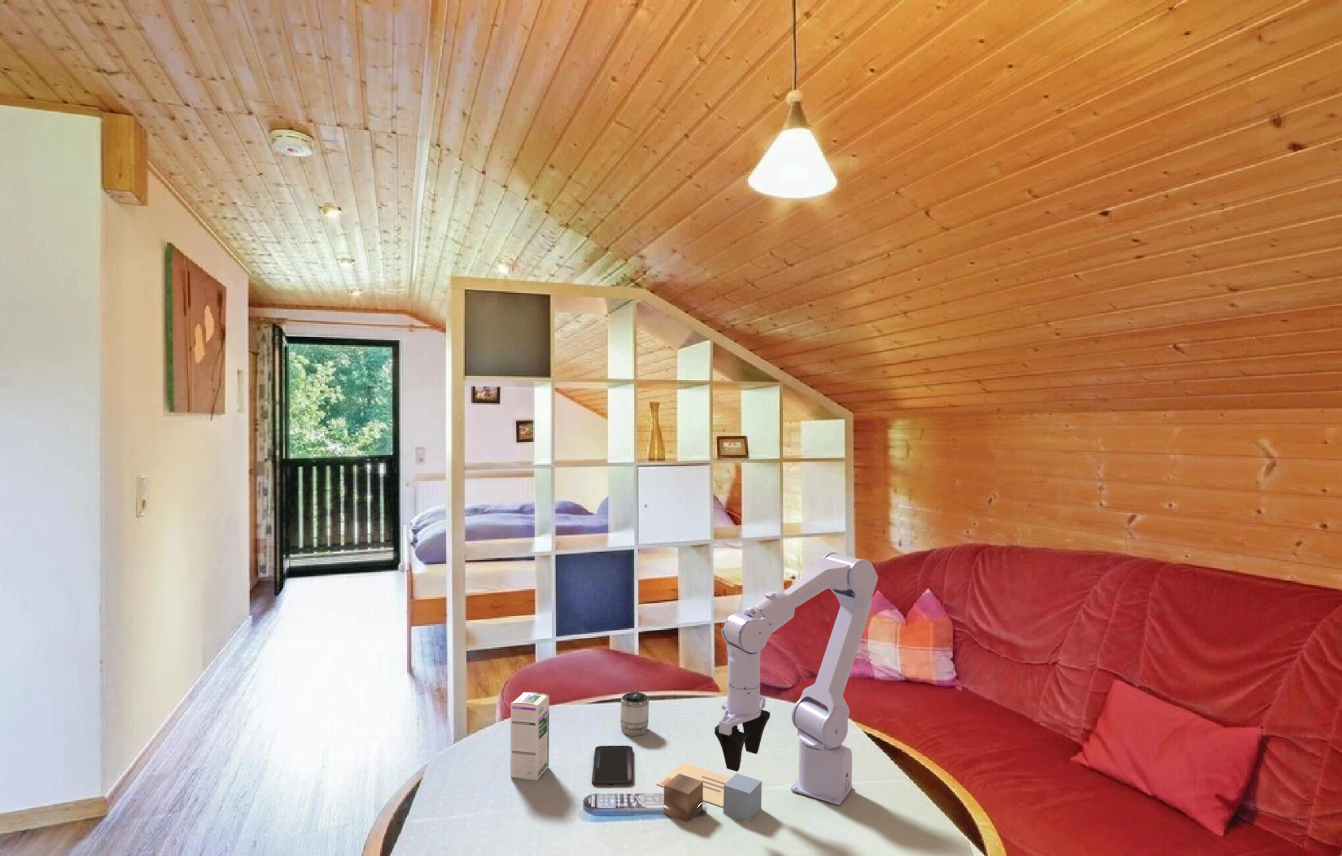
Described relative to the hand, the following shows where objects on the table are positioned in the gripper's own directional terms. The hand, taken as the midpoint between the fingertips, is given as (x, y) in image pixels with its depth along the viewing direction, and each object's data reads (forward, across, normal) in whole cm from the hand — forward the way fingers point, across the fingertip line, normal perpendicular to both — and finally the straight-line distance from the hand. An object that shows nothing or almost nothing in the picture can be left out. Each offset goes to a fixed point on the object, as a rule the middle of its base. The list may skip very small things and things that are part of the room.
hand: (742, 760), depth 121 cm
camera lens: (+9, -16, -34) cm, 39 cm away
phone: (+9, 0, -28) cm, 30 cm away
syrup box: (+9, +11, -40) cm, 43 cm away
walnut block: (+9, +6, -8) cm, 14 cm away
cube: (+9, 0, 0) cm, 9 cm away
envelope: (+9, -4, -10) cm, 14 cm away
